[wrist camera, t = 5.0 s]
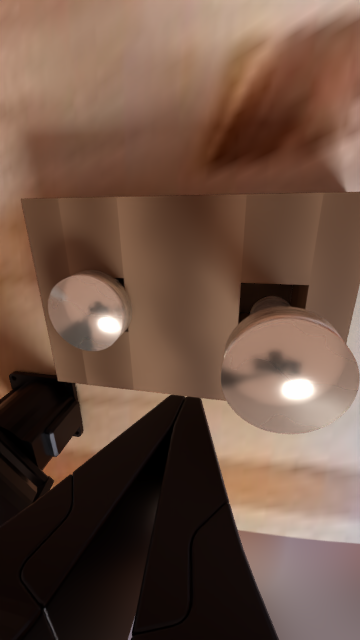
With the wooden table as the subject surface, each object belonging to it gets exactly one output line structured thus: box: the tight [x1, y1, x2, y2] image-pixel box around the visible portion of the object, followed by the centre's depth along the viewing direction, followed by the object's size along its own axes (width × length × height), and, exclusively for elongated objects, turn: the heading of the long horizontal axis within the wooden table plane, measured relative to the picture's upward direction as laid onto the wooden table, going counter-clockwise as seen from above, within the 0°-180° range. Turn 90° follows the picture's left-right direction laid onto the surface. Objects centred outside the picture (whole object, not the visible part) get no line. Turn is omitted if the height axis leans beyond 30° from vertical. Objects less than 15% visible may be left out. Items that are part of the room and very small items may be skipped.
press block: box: [21, 192, 360, 401], centre depth 19 cm, size 18×12×4 cm, turn 92°
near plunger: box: [221, 296, 359, 434], centre depth 13 cm, size 4×4×6 cm
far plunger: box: [48, 270, 132, 351], centre depth 19 cm, size 4×4×6 cm
